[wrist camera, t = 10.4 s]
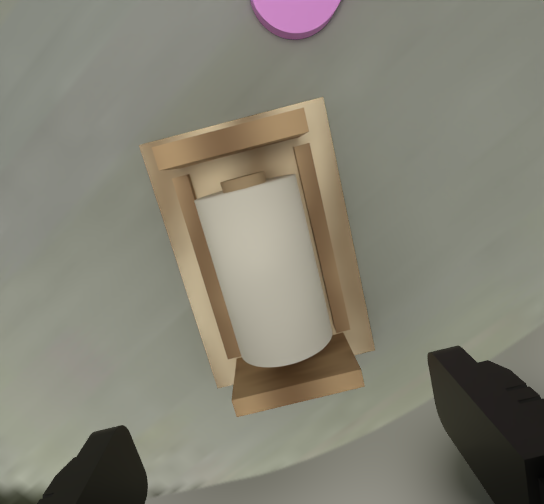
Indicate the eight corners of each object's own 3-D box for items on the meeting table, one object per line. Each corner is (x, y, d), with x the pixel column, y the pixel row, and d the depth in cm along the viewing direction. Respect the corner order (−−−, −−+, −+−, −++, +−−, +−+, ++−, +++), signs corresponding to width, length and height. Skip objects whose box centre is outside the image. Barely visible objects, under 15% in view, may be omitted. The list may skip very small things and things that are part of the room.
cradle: (320, 99, 25) (339, 80, 19) (371, 343, 29) (399, 390, 23) (143, 145, 25) (108, 141, 19) (219, 380, 29) (209, 435, 24)
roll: (201, 186, 25) (180, 194, 19) (290, 162, 25) (296, 164, 19) (246, 337, 28) (239, 386, 22) (327, 318, 27) (342, 362, 21)
